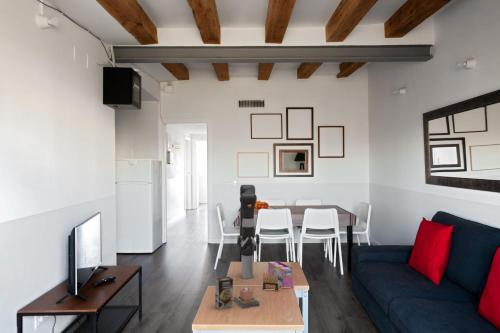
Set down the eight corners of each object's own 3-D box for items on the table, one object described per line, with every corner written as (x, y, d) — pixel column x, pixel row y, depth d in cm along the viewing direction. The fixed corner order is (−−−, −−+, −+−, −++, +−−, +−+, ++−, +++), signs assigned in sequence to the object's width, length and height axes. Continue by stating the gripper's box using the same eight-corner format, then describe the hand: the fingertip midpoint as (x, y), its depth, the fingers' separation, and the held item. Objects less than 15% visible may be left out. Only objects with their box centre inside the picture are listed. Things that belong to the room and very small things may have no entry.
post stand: (233, 300, 187) (233, 285, 187) (249, 297, 191) (249, 283, 192) (242, 308, 174) (242, 292, 175) (259, 305, 179) (259, 290, 179)
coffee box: (218, 309, 173) (218, 281, 174) (214, 305, 178) (214, 278, 179) (233, 306, 177) (233, 278, 178) (228, 302, 183) (228, 275, 184)
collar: (239, 298, 184) (239, 288, 185) (248, 297, 187) (248, 287, 187) (243, 302, 179) (243, 291, 179) (252, 300, 181) (252, 290, 182)
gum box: (266, 279, 228) (266, 261, 229) (276, 277, 231) (275, 260, 232) (283, 289, 206) (283, 269, 207) (293, 287, 209) (292, 267, 210)
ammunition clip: (278, 290, 204) (278, 272, 205) (278, 291, 202) (278, 273, 203) (263, 288, 207) (263, 271, 208) (262, 289, 205) (262, 272, 206)
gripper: (256, 224, 193) (256, 249, 193) (235, 225, 187) (235, 251, 187) (261, 225, 186) (261, 252, 186) (240, 227, 181) (240, 254, 180)
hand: (248, 251), depth 186 cm, fingers open, 8 cm apart
